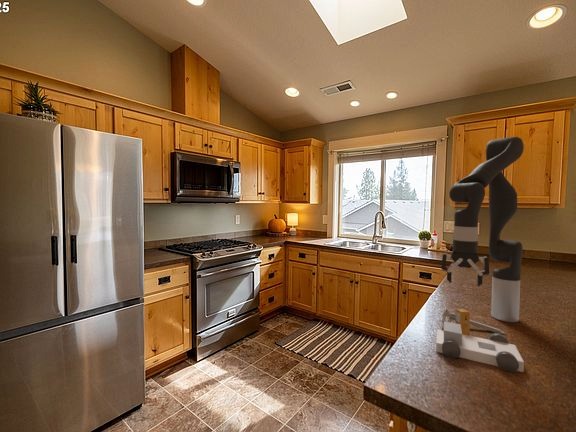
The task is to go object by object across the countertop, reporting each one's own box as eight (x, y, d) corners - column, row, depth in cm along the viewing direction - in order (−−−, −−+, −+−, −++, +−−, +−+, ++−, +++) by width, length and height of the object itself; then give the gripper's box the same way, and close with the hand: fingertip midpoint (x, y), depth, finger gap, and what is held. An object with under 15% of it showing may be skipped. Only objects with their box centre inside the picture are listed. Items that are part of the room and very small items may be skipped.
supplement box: (463, 335, 100) (464, 308, 100) (469, 339, 97) (470, 312, 96) (454, 335, 100) (455, 308, 99) (460, 339, 96) (461, 312, 96)
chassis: (436, 335, 100) (437, 316, 100) (512, 351, 89) (513, 330, 89) (436, 354, 87) (436, 333, 87) (525, 376, 76) (526, 351, 76)
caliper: (442, 323, 110) (442, 308, 110) (442, 322, 111) (442, 307, 111) (505, 335, 101) (506, 318, 100) (504, 334, 102) (505, 317, 101)
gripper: (488, 239, 96) (486, 284, 97) (442, 236, 103) (441, 278, 104) (491, 241, 90) (489, 289, 91) (442, 238, 97) (441, 283, 98)
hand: (463, 283), depth 97 cm, fingers open, 8 cm apart
